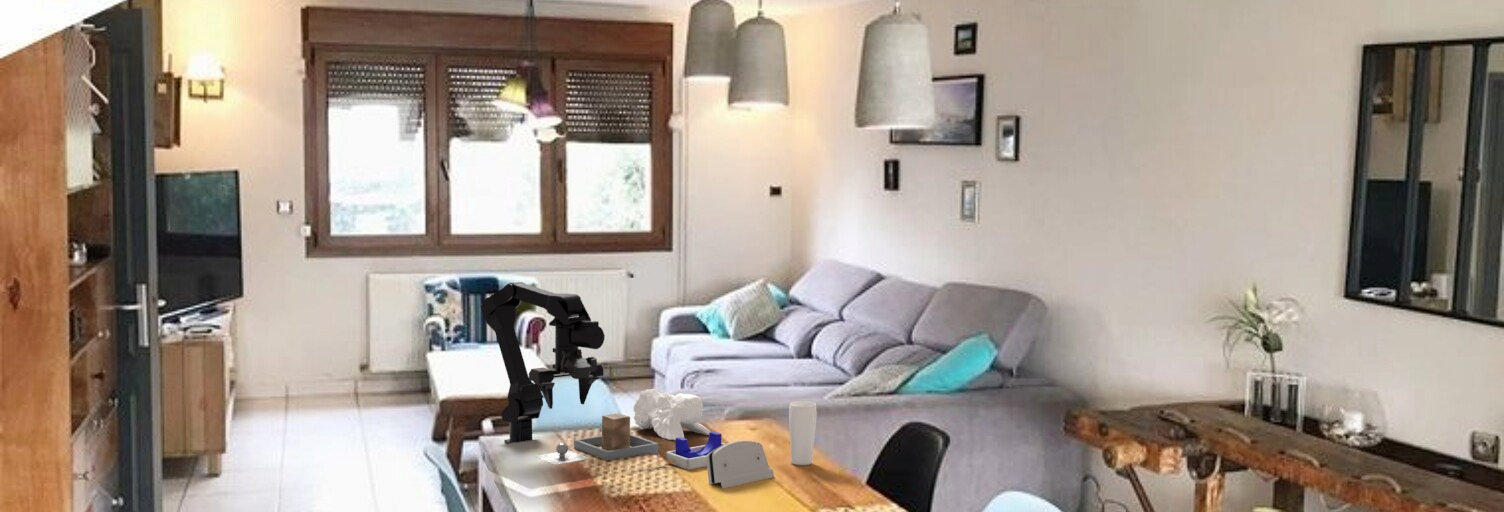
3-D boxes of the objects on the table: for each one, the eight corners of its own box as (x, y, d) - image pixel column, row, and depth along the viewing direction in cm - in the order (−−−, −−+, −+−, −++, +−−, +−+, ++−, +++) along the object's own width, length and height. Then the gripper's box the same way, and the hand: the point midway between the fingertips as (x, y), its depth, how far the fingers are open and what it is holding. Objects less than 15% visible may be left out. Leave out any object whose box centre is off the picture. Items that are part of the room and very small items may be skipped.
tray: (573, 453, 324) (574, 439, 324) (624, 445, 334) (624, 432, 333) (606, 466, 312) (606, 452, 312) (658, 457, 322) (658, 443, 322)
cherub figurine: (668, 386, 360) (716, 389, 345) (669, 431, 360) (718, 436, 345) (631, 390, 350) (680, 394, 336) (633, 436, 350) (681, 442, 336)
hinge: (722, 488, 294) (713, 445, 296) (709, 491, 298) (700, 448, 299) (775, 476, 306) (766, 435, 307) (762, 479, 309) (753, 438, 311)
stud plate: (533, 462, 315) (533, 442, 315) (569, 456, 321) (569, 436, 321) (554, 470, 307) (554, 450, 307) (590, 464, 314) (590, 444, 313)
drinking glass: (782, 463, 318) (783, 403, 317) (800, 458, 323) (801, 399, 322) (803, 468, 314) (804, 407, 312) (821, 463, 319) (822, 403, 317)
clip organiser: (665, 461, 317) (665, 451, 317) (720, 452, 328) (720, 442, 328) (687, 469, 310) (687, 459, 310) (743, 459, 321) (743, 449, 321)
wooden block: (613, 454, 319) (613, 419, 319) (601, 450, 323) (601, 415, 322) (629, 452, 323) (630, 416, 322) (618, 448, 327) (618, 413, 326)
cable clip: (686, 465, 315) (686, 441, 315) (675, 461, 319) (675, 437, 318) (724, 458, 323) (725, 434, 322) (713, 454, 326) (714, 431, 326)
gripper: (550, 352, 310) (550, 416, 311) (616, 345, 321) (615, 407, 323) (527, 346, 318) (527, 408, 320) (592, 340, 330) (591, 400, 331)
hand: (566, 406), depth 323 cm, fingers open, 9 cm apart
